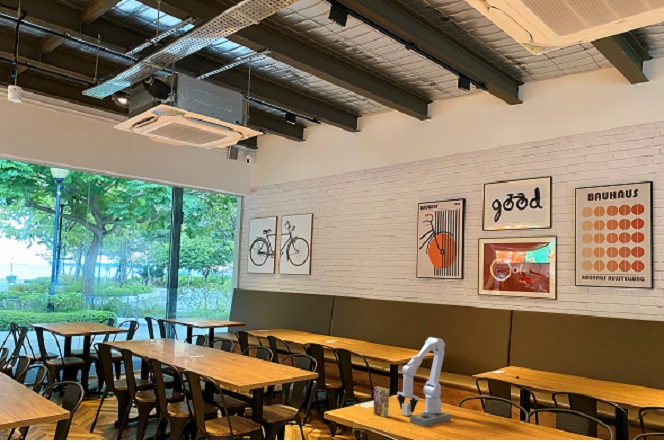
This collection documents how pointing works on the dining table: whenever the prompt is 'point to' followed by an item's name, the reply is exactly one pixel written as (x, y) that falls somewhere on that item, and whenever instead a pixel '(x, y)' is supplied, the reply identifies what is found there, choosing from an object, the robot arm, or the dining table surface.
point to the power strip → (430, 418)
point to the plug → (406, 409)
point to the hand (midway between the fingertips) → (407, 410)
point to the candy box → (381, 401)
